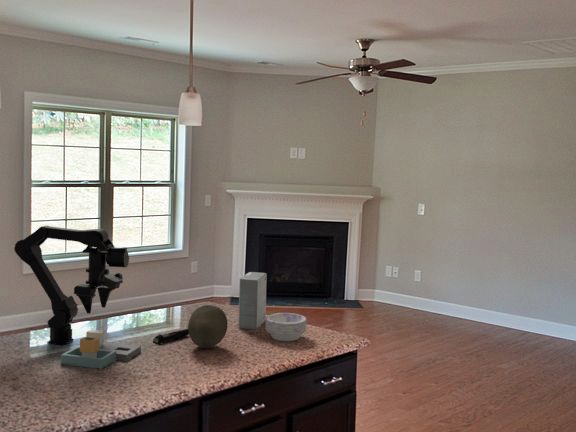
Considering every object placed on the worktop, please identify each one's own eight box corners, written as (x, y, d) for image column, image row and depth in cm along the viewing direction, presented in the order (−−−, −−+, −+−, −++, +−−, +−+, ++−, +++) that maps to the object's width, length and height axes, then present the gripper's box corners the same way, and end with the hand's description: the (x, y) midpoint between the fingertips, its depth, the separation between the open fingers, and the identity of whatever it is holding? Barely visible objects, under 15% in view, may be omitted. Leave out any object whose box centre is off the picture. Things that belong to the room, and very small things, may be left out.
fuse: (86, 352, 207) (86, 331, 207) (90, 349, 210) (91, 329, 210) (99, 353, 206) (100, 333, 206) (104, 351, 209) (104, 330, 209)
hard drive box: (247, 318, 259) (249, 271, 257) (265, 320, 258) (267, 272, 256) (237, 328, 244) (239, 278, 242) (256, 330, 243) (258, 279, 241)
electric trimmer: (192, 337, 231) (192, 329, 230) (158, 345, 219) (159, 336, 218) (185, 335, 233) (185, 327, 233) (152, 343, 221) (152, 334, 221)
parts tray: (61, 364, 195) (61, 354, 195) (76, 355, 204) (77, 346, 203) (101, 369, 192) (102, 359, 192) (116, 360, 201) (116, 351, 200)
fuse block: (76, 354, 204) (76, 348, 204) (92, 346, 214) (92, 340, 214) (126, 360, 200) (126, 354, 200) (140, 351, 210) (140, 346, 210)
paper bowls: (258, 340, 230) (259, 319, 229) (274, 330, 244) (275, 310, 243) (296, 346, 224) (297, 324, 223) (311, 336, 238) (312, 315, 237)
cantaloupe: (178, 347, 217) (179, 305, 215) (209, 339, 227) (211, 299, 226) (204, 357, 207) (205, 313, 206) (235, 349, 218) (237, 307, 216)
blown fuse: (79, 361, 197) (79, 338, 196) (84, 358, 200) (84, 336, 199) (94, 362, 196) (94, 340, 195) (98, 359, 199) (99, 337, 198)
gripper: (103, 272, 203) (102, 319, 204) (131, 263, 221) (130, 307, 222) (73, 269, 206) (72, 315, 207) (104, 261, 224) (103, 303, 225)
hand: (96, 310), depth 215 cm, fingers open, 9 cm apart
